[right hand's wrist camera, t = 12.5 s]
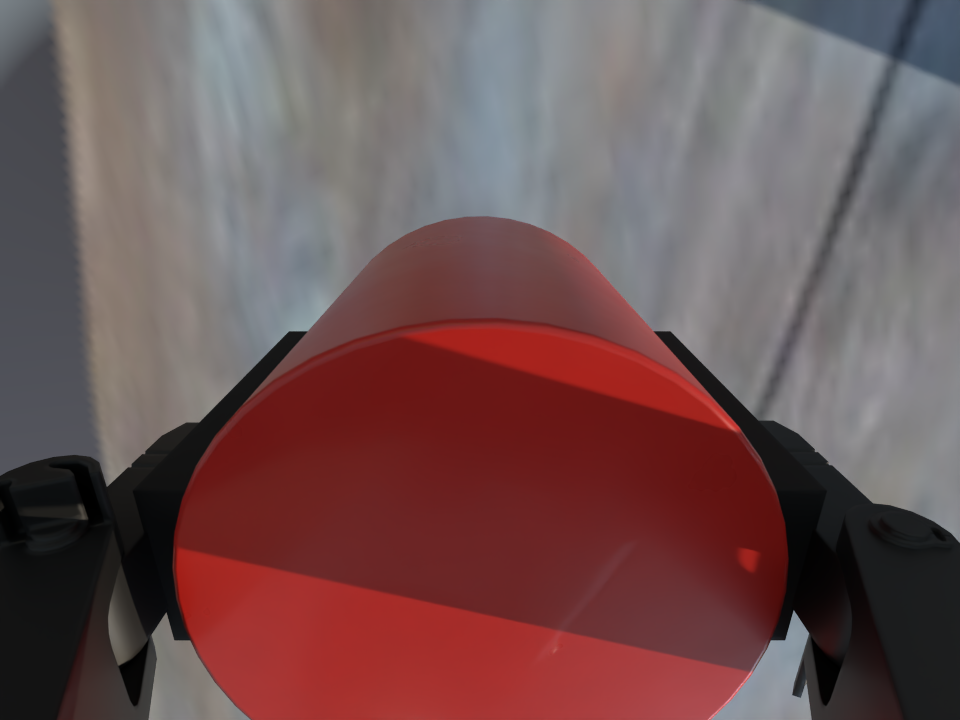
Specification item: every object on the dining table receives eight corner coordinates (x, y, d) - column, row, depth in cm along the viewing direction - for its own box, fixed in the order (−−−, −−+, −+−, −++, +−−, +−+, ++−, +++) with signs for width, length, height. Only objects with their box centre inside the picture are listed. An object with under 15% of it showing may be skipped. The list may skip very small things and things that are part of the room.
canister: (398, 158, 13) (279, 187, 5) (686, 298, 14) (930, 489, 6) (293, 429, 15) (111, 712, 8) (542, 526, 16) (595, 852, 9)
